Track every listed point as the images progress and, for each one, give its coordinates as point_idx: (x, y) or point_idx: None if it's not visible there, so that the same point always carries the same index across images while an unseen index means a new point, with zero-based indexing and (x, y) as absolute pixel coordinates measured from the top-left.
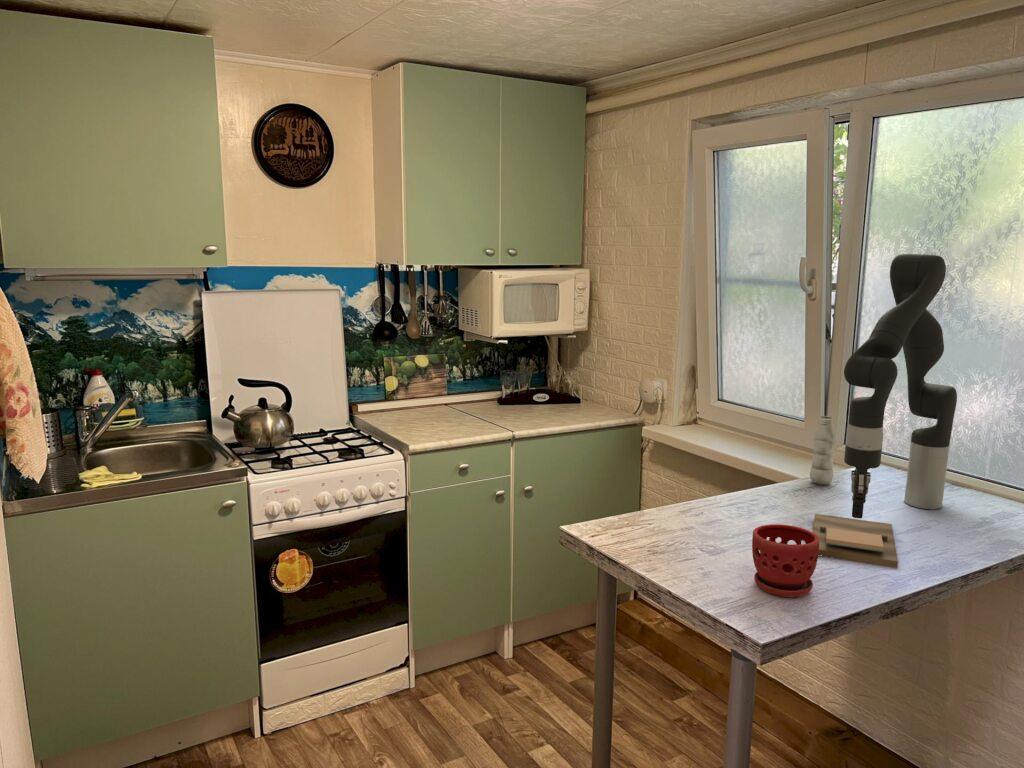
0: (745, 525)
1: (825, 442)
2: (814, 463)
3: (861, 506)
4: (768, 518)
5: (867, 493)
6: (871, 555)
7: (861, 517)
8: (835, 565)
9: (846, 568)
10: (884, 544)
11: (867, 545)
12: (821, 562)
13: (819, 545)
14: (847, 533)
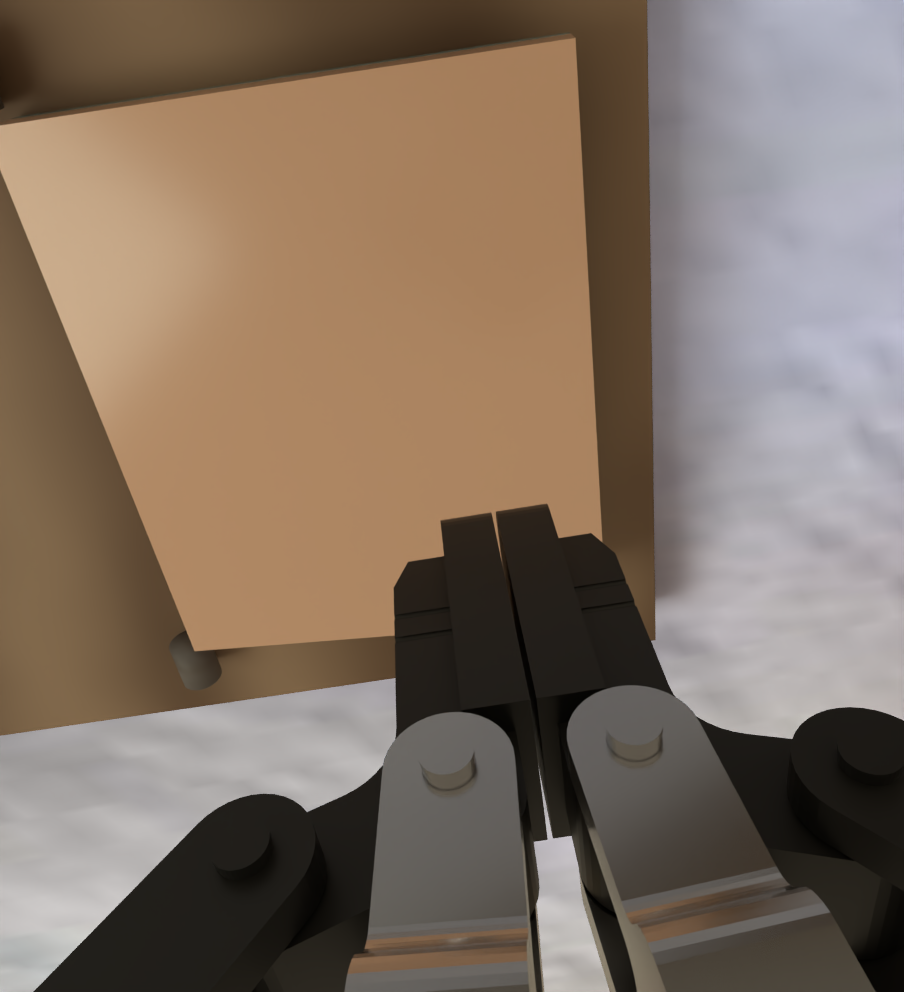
0: None
1: None
2: None
3: (658, 668)
4: (102, 916)
5: (821, 907)
6: (590, 160)
7: (548, 511)
8: (794, 419)
9: (831, 331)
10: (128, 53)
11: (582, 243)
12: (769, 517)
13: None
14: (256, 481)
